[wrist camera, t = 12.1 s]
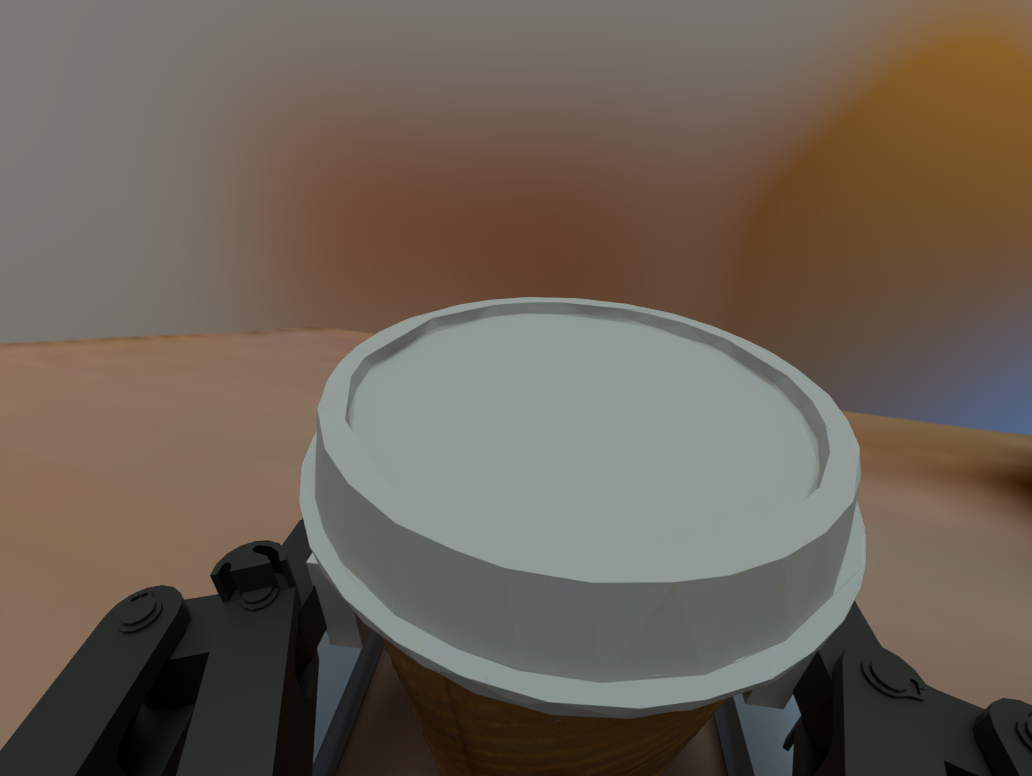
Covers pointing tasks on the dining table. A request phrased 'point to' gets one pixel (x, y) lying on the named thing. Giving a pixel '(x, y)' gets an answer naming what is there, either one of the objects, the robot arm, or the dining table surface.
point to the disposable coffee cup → (580, 526)
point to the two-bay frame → (347, 671)
